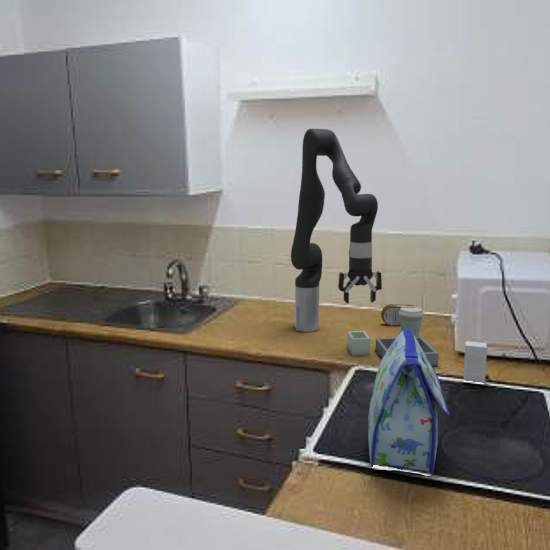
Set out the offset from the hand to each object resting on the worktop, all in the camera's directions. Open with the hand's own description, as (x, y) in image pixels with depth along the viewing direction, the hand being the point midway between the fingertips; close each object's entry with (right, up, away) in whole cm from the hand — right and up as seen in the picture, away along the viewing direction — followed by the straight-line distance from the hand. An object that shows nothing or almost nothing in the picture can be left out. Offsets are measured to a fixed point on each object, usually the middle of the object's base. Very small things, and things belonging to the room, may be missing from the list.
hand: (359, 302), depth 187 cm
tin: (+21, -11, +32) cm, 40 cm away
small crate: (0, -17, +4) cm, 18 cm away
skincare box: (+30, -23, -22) cm, 44 cm away
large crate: (+15, -18, -3) cm, 24 cm away
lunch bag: (+1, -31, -59) cm, 67 cm away
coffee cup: (+20, -15, +14) cm, 29 cm away
